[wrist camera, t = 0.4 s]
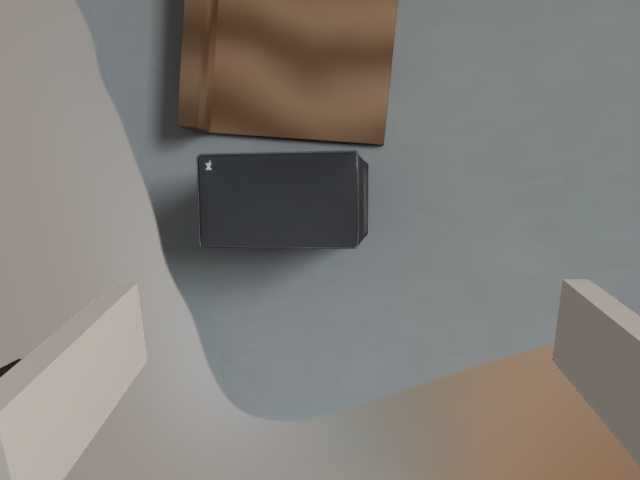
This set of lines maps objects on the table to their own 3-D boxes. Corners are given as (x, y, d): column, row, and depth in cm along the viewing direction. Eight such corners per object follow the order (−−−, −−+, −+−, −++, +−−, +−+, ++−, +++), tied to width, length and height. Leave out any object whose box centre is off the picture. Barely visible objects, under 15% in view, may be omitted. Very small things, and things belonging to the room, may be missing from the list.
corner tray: (207, -52, 40) (188, -76, 37) (402, -50, 38) (403, -76, 34) (196, 132, 42) (177, 125, 38) (383, 145, 39) (382, 139, 36)
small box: (245, 239, 42) (194, 251, 31) (243, 162, 41) (191, 149, 31) (369, 240, 40) (358, 253, 30) (369, 159, 40) (358, 145, 29)
